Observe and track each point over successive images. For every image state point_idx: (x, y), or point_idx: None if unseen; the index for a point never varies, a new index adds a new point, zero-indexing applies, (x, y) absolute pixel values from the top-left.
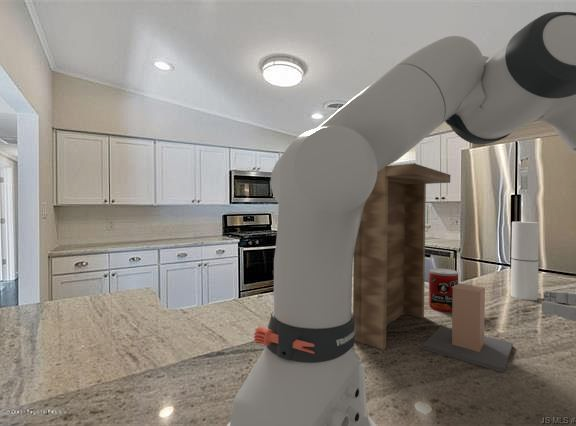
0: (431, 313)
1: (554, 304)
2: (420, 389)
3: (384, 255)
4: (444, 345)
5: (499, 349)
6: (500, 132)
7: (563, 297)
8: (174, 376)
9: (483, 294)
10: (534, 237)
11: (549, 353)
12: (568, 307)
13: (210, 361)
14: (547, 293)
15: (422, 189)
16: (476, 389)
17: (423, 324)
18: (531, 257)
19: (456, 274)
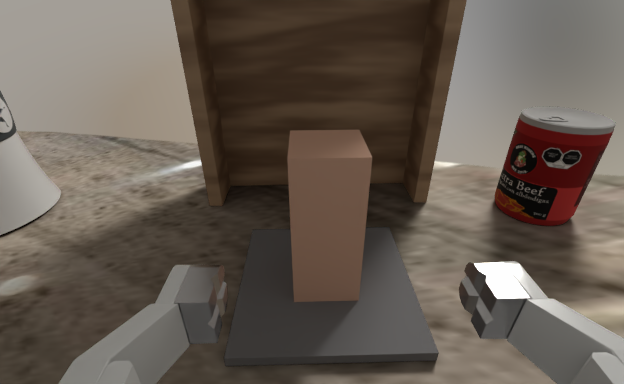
0: (463, 204)
1: (156, 302)
2: (79, 269)
3: (177, 20)
4: (278, 251)
5: (349, 332)
6: None
7: (560, 354)
8: (50, 141)
9: (342, 175)
10: None
11: None
12: (79, 358)
13: (90, 141)
14: (474, 275)
15: None
16: (108, 334)
17: (381, 210)
18: None
19: (583, 131)
